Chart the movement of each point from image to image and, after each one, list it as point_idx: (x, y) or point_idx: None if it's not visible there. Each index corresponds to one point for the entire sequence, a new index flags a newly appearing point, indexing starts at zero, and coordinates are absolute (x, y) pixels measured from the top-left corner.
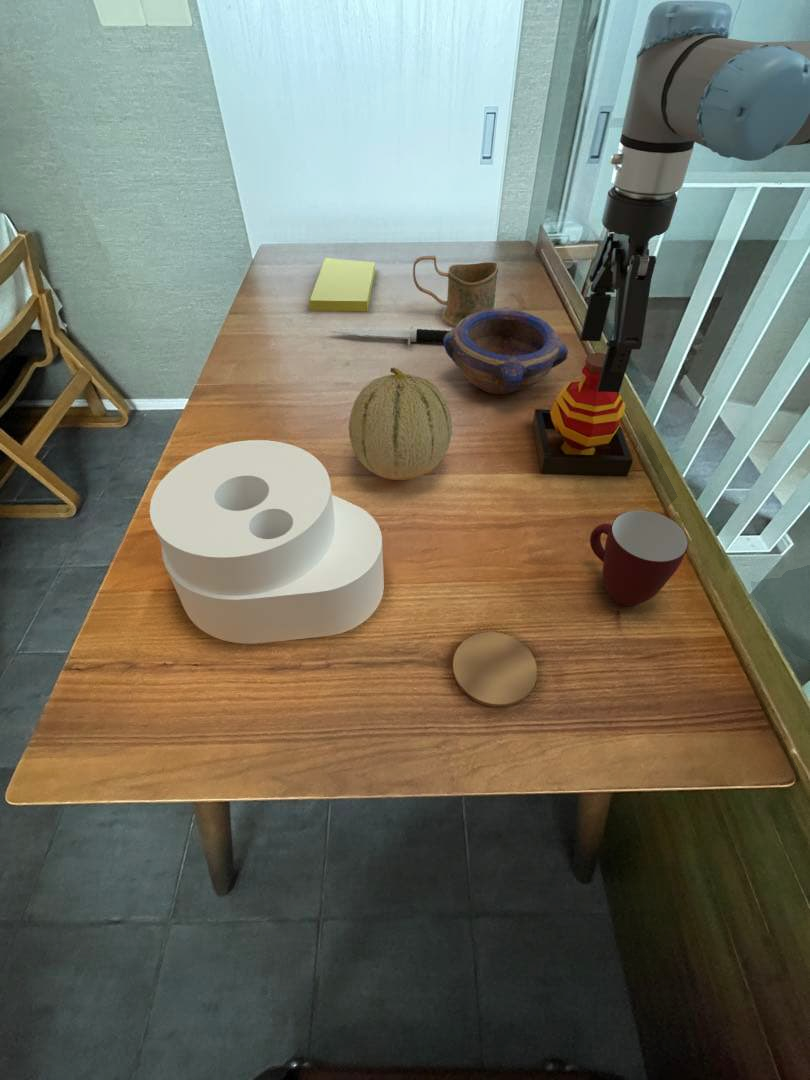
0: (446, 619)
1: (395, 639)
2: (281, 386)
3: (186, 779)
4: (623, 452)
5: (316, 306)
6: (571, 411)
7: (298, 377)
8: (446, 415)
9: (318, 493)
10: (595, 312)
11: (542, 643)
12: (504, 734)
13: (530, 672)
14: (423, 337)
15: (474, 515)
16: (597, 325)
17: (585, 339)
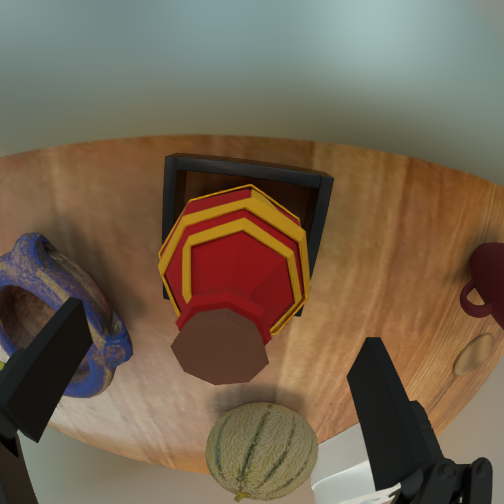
0: (434, 379)
1: (430, 398)
2: (141, 443)
3: (437, 434)
4: (308, 186)
5: None
6: (279, 330)
7: (125, 434)
8: (282, 455)
9: (386, 490)
10: (48, 389)
11: (477, 328)
12: (496, 348)
13: (488, 338)
14: None
15: (349, 368)
16: (62, 348)
17: (89, 337)
